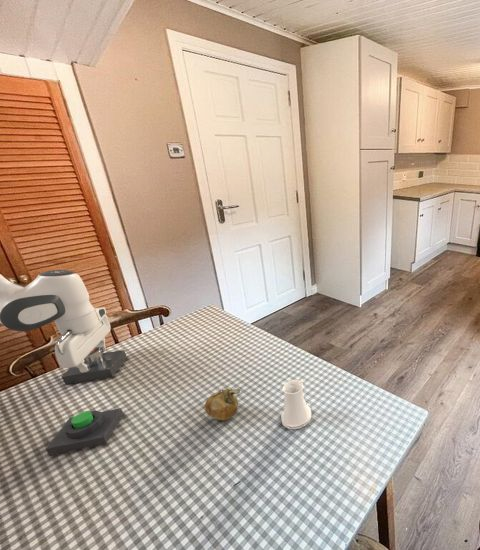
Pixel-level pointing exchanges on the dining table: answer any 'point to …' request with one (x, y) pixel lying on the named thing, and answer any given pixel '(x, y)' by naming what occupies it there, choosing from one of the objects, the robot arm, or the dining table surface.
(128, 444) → the dining table surface
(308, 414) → the vase
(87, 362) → the program dial
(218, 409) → the onion
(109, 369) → the dial panel
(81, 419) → the button
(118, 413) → the block
